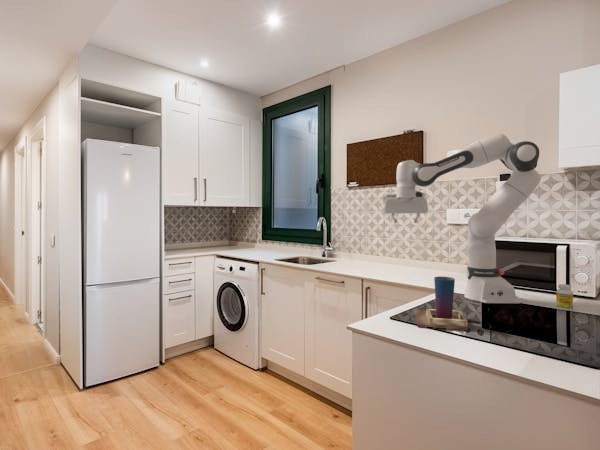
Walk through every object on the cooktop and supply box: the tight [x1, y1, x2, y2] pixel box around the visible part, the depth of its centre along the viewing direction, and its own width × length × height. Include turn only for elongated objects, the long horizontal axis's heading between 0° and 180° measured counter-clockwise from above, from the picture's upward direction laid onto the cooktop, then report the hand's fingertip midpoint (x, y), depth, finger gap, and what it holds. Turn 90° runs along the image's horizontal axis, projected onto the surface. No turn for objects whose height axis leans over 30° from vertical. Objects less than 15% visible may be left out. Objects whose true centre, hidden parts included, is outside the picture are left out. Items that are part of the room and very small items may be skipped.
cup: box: [433, 276, 456, 319], centre depth 126 cm, size 7×7×15 cm
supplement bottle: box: [555, 283, 574, 311], centre depth 141 cm, size 5×5×10 cm
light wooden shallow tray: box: [413, 308, 469, 332], centre depth 128 cm, size 16×18×3 cm
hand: (405, 222), depth 170 cm, fingers open, 8 cm apart
